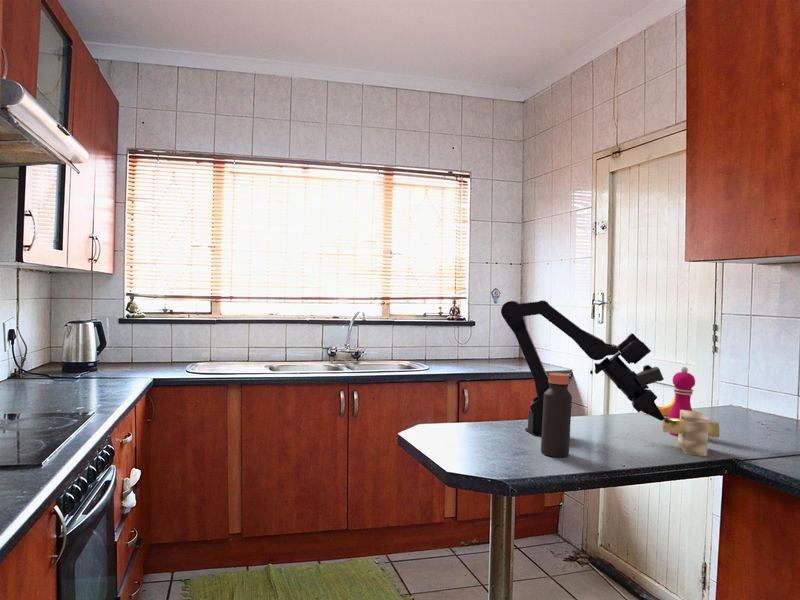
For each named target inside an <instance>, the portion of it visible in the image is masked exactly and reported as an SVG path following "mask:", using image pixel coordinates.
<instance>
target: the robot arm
mask: <svg viewBox="0 0 800 600" xmlns="http://www.w3.org/2000/svg"><path fill="white" fill-rule="evenodd" d="M500 313H501V316H502V318H503V319H504V321H505V322H506V324H507V326H508V327H509V328H510V331H512V332H513V334H514V336H515V339H516V340H517V343H518V345H519V346H520V347H519V348H520V350H521V352H522V355H523V357H524V359H525V361H526V364H527V366H528V369H529V370H530V373H531V375H532V379H533V381H534V386H535V391H536V395H537V396H536V397H534V398H533V399H531V402H530V406H529V407H530V409H528V413H527V415H528V419H527V427H525V428H524V430H525V431H527V433H530V434H532V435H533V436H537V437H538V436H542V420H543V401H544V392H545V391H546V390H547V389H549V386H550V384H549V382H548V380H549V374H548V373H547V372H546V370H545V367H544V365H543V363H542V360H541V358H540V356H539V353H538V351H537V348H536V346H535V344H534V342H533V340H532V337H531V335H530V332H529V330H528V326H527V321H526V317H528V316H535V315H536V316H537V315H538V316H539V315H540V316H542V317H544V318H545V319H546V320H547V321H548V322H550V323H551V324H552V325H553V326H555V327H556V328H558V329H559V330H560V331H561V332H563V333H564V334H565V335H567V336H568V337H569V338H571V339H572V340H573V341H574V342H575V343H576V345H578V347H579V348H580V349H581V350H582V351H583V352H584V353H585V355H587V356H588V357H589V359H591V360H593V361H600V362H599V363H597V362H594V373H595V374H596V375H598V374H599V373H601V372H603V373H604V374H605V375H606V377H608V378H609V380H610V381H612V382H613V384H614V385H615V386H616V387H617V389H618V390H620V391H621V392H622V394H624V395H625V396H626V398H627V399H628V400H629V401H630V402H631V405H632V408H634V410H636V412H638V413H642V412H644V413H646V414H645V415H648V416H651V417H652V418H654V419H657V420H659V421H661V422H663V420H664V419H665V418H664V417H665V416H663V415H662V413H661V412H660V410H659V409H658V407H657V406H658V405H657V404H656V402H655V401H656V400H657V399H658V396H657V395H656V394H655V393H654V392H653V390H651V389H649V388H650V387H649V386H648V385H650V384H654V383H656V382H662V381H664V377H663V376H664V375H663V374H662V372H661V369H660V367H658V366H653V367H652V366H650V364H646V365H643V366H642V371H640V372H638V373H636V372H635V371H634V370H632V369H631V368H629V366H628V365H630V364H631V365H632V364H634V365H637V364H638V363H639V362H640V361H641V360H642V359H644V358H645V357H646V356H647V355H649V353H651V352H652V350H651V349H650V348H649V347H648V345H646V343H644V342H643V341H642V340H640V339H639V338H638V337H637V336H636V335H635V333H633V332H631V333H630V334H628V336H627V337H626V338H625V339H624V340H623V341H622V342H620V343H619V344H618V345H616V344H614V343H613V344H611V343H607V342H605V341H604V340H603V339H602V338H599V337H598V336H596V335H594V334H592V333H590V332H588V331H586V330H584V329H582V328H580V327H579V326H578V325H577V324H575V322H573V321H571V320H570V319H569V318H567V316H565V315H563V313H561V312H560V311H558V310H557V309H556V308H555V307H554V306H552V305H550V303H549V302H548V301H546V300H543V299H542V300H539V301H532V302H531V301H530V302H523V303H522V302H521V303H520V302H519V301H517V300H510V301H506V302H505V303H504V304H503V305H502V307H501V309H500ZM608 356H609V357H610V356H611V357H610V358H608ZM619 356H620V357H622V359H624V361H625V362H626V363H627V364H628V365H627V364H626V363H625V362H624V361H623V360H622V359H621V358H620V357H619ZM601 360H602V361H601Z"/></svg>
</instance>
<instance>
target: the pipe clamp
mask: <svg viewBox="0 0 800 600" xmlns="http://www.w3.org/2000/svg"><path fill="white" fill-rule="evenodd" d="M674 402H675V395H674V396H673V399H672V401H671V403H669V404H667V405H665V406H659V405H656V406H657V407H658V409H659V410H660V412H661V413H662V415H663V417H665V416H668V415H669V412H670V410H671V409H672V407H673V405H674ZM641 413H642V414H643V413H644V412H642V411H641Z"/></svg>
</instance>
